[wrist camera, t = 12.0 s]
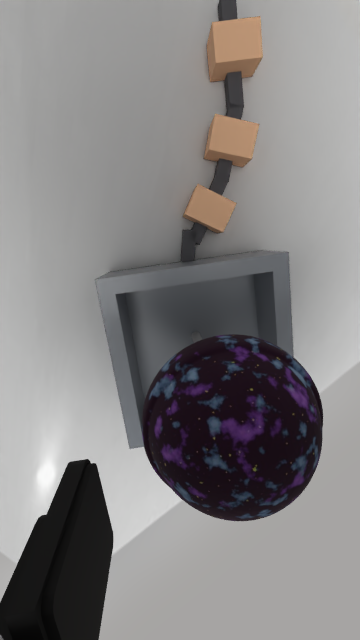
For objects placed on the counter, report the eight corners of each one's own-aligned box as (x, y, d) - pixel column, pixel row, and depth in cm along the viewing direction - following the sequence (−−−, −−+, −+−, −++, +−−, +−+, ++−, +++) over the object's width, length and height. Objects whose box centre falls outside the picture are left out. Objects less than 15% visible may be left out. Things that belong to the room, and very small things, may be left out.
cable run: (212, 0, 19) (219, -31, 17) (270, 13, 20) (284, -15, 17) (176, 260, 23) (178, 262, 21) (226, 267, 23) (232, 269, 21)
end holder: (109, 271, 23) (94, 279, 18) (261, 250, 23) (288, 252, 18) (135, 410, 26) (129, 448, 21) (271, 389, 26) (296, 422, 21)
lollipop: (242, 290, 23) (391, 370, 8) (238, 376, 24) (355, 571, 10) (149, 290, 22) (131, 375, 8) (151, 378, 24) (138, 585, 9)
